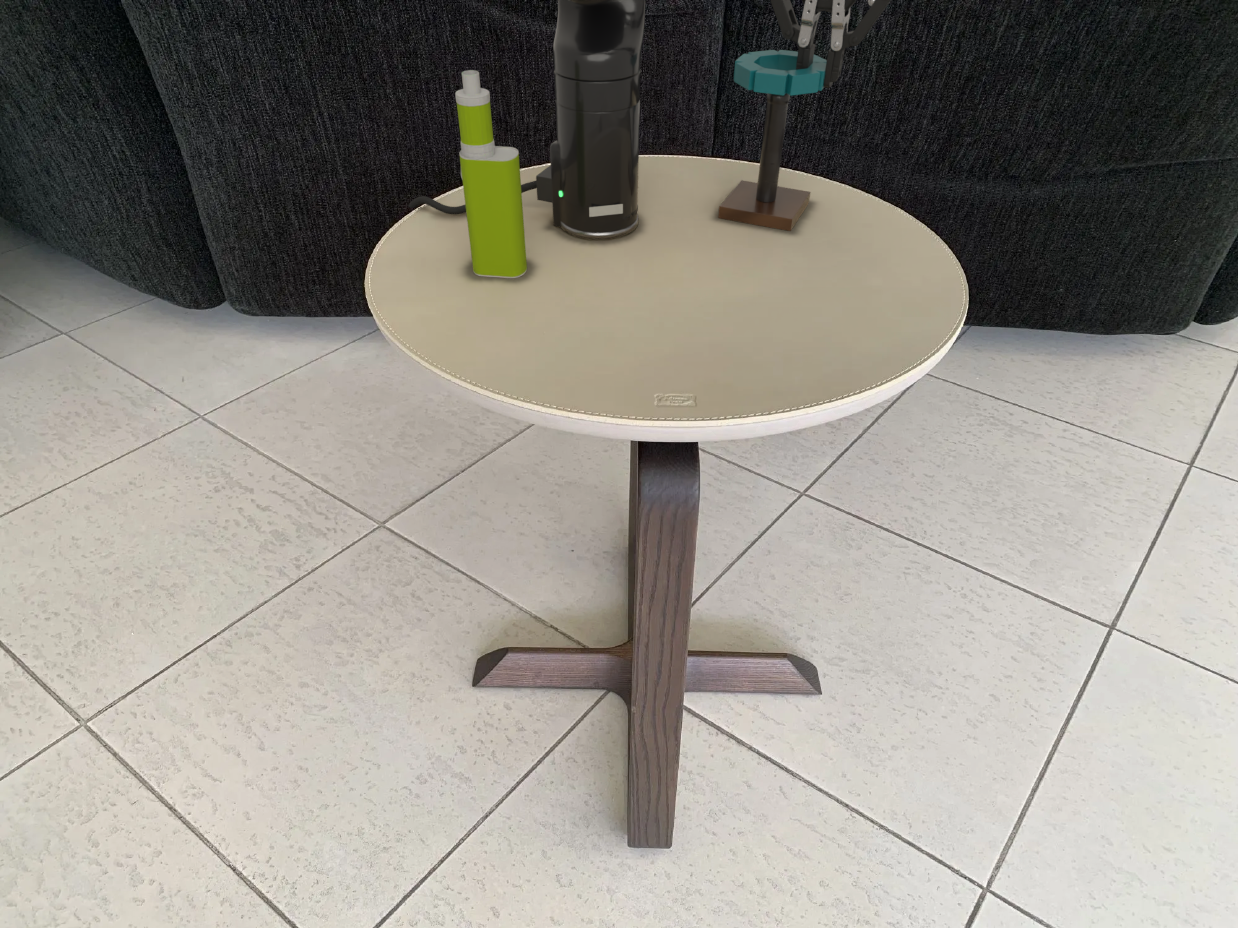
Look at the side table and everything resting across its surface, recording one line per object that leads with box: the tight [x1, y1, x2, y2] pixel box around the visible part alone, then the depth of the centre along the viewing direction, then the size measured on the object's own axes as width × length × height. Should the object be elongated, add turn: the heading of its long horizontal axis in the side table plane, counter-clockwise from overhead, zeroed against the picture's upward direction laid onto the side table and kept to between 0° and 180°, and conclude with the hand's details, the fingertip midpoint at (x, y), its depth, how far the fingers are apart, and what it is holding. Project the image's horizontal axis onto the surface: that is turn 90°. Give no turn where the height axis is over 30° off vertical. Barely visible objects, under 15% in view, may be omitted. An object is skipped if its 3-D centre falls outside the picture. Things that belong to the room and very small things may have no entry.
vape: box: [454, 69, 528, 279], centre depth 84 cm, size 4×6×20 cm, turn 82°
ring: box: [733, 49, 827, 97], centre depth 92 cm, size 10×10×2 cm
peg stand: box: [717, 93, 811, 232], centre depth 98 cm, size 9×9×15 cm
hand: (816, 83), depth 92 cm, fingers closed on ring, 2 cm apart
